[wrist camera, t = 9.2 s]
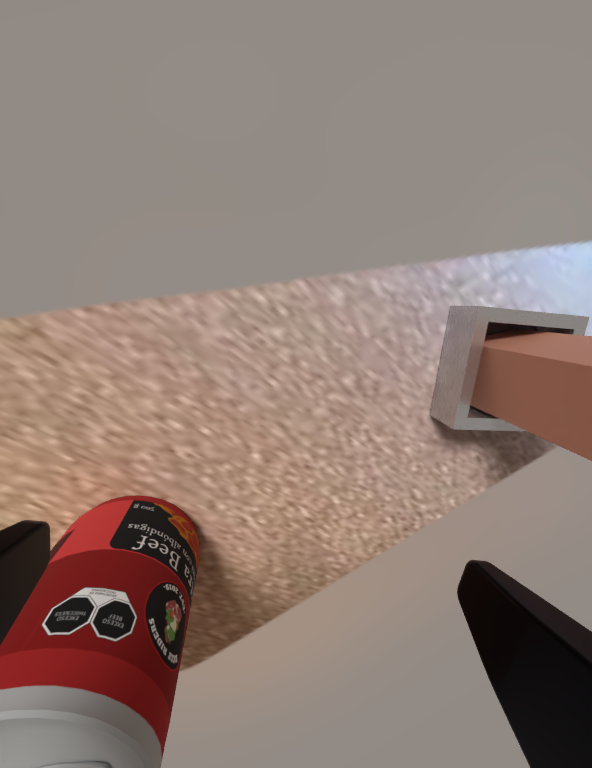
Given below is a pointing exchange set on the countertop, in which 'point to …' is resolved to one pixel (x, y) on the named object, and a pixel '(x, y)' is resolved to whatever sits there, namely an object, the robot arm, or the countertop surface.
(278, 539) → the countertop surface
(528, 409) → the salmon brown rectangular block
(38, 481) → the countertop surface
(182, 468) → the countertop surface
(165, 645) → the canned food
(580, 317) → the gray square planter
